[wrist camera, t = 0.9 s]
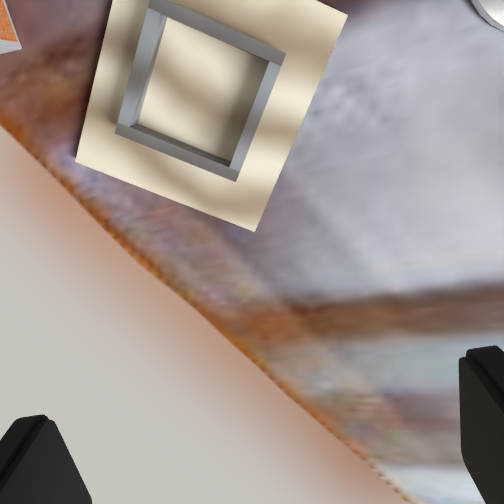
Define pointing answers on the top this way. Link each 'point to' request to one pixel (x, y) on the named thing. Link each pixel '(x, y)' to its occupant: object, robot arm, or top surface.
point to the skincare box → (7, 31)
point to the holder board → (206, 97)
